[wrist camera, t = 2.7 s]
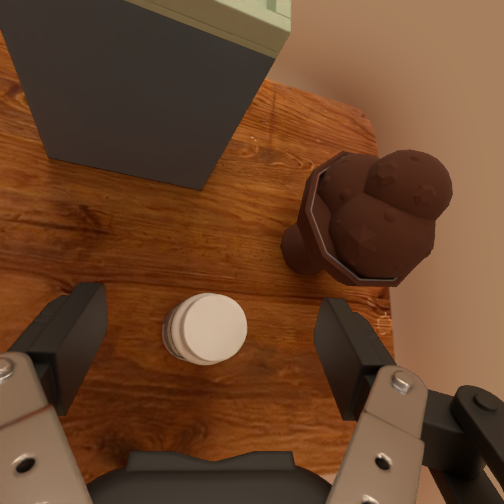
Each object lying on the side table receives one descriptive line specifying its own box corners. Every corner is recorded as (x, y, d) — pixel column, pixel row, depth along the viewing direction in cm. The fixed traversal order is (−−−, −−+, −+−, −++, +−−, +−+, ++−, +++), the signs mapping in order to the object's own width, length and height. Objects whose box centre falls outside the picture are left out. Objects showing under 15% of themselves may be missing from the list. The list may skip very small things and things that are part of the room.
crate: (47, 157, 26) (-34, -60, 12) (74, 53, 29) (34, -221, 15) (201, 190, 31) (276, 59, 16) (211, 97, 34) (281, -84, 19)
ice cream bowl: (251, 193, 33) (346, 91, 19) (344, 205, 37) (475, 127, 23) (256, 300, 30) (370, 268, 17) (355, 300, 34) (510, 274, 21)
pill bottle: (226, 316, 29) (265, 307, 21) (203, 369, 27) (236, 380, 19) (177, 292, 28) (199, 274, 20) (149, 346, 26) (163, 348, 18)
